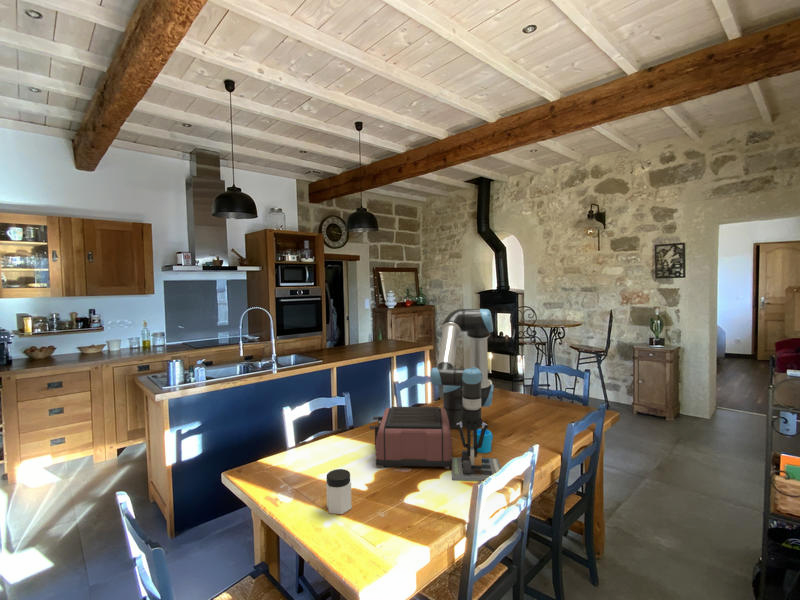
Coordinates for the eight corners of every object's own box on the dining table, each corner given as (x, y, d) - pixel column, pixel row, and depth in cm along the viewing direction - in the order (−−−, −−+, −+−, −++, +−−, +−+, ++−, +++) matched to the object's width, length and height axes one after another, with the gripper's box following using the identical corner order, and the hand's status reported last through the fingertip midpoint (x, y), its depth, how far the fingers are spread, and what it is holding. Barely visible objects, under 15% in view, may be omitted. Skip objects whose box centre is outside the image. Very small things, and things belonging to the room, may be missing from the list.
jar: (341, 498, 148) (340, 466, 147) (356, 506, 143) (355, 472, 142) (321, 509, 141) (320, 475, 140) (337, 517, 136) (336, 483, 135)
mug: (484, 454, 182) (484, 437, 182) (469, 449, 188) (469, 432, 188) (499, 447, 190) (499, 430, 190) (485, 442, 196) (485, 425, 196)
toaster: (376, 439, 202) (375, 404, 201) (448, 440, 199) (448, 404, 198) (366, 468, 171) (366, 427, 170) (452, 470, 168) (452, 428, 167)
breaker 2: (463, 469, 164) (463, 460, 163) (470, 469, 163) (470, 460, 163) (463, 473, 161) (463, 463, 161) (471, 473, 161) (471, 463, 160)
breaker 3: (473, 464, 168) (473, 454, 168) (481, 464, 168) (480, 455, 168) (474, 467, 165) (474, 457, 165) (481, 467, 165) (481, 458, 165)
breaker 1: (461, 458, 174) (461, 449, 173) (468, 458, 173) (468, 449, 173) (462, 461, 171) (462, 452, 171) (469, 461, 170) (469, 452, 170)
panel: (451, 461, 176) (451, 456, 176) (498, 463, 174) (498, 458, 174) (452, 480, 160) (452, 474, 160) (504, 481, 158) (504, 476, 158)
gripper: (456, 410, 162) (456, 467, 164) (489, 410, 161) (489, 468, 162) (455, 404, 170) (455, 459, 171) (487, 404, 168) (487, 460, 170)
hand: (472, 463), depth 167 cm, fingers closed
